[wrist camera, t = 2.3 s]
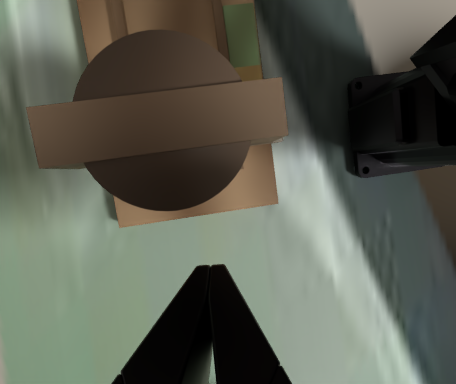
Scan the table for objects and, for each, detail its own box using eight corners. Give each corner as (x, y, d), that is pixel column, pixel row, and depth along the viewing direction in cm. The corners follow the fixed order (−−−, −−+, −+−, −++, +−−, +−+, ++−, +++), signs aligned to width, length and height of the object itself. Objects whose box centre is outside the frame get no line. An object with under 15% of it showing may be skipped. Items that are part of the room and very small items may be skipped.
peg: (271, 103, 15) (366, 2, 6) (280, 174, 15) (380, 180, 6) (133, 120, 14) (11, 38, 5) (146, 194, 15) (52, 230, 6)
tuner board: (247, -19, 15) (251, -41, 14) (274, 201, 17) (281, 204, 15) (82, -4, 15) (67, -25, 13) (124, 224, 16) (115, 230, 14)
